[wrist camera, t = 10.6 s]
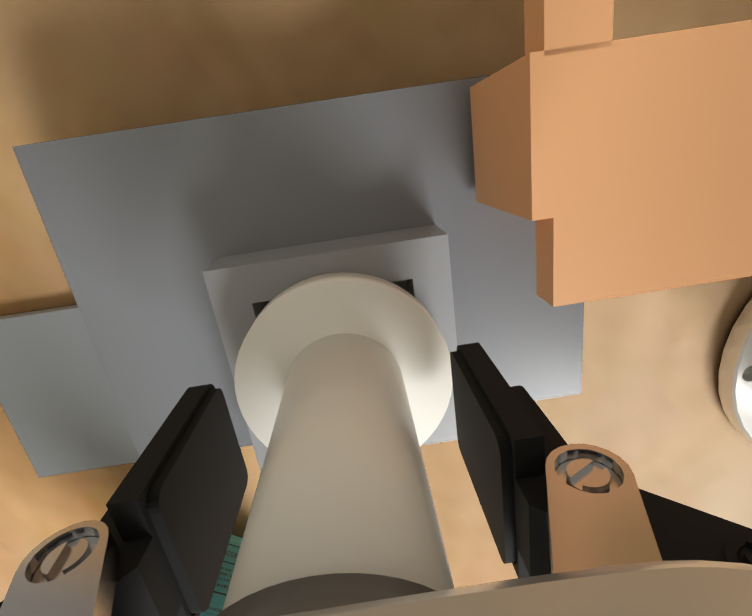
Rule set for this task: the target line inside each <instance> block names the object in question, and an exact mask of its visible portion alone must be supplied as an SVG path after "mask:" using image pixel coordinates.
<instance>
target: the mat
mask: <svg viewBox="0 0 752 616" xmlns="http://www.w3.org/2000/svg"><path fill="white" fill-rule="evenodd" d="M0 404H1V406H2V407H3V409H4V411H5V413H6V415H7V417H8V419H9V421H10V423H11V425H12V427H13V429H14V430H15V432H16V434H17V436H18V438H19V440H20V442H21V444H22V446H23V448H24V450H25V452H26V453H27V455H28V457H29V459H30V461H31V463H32V465H33V467H34V469H35V471H36V473H37V475H38V477H39V478H40V477H46V476H52V475H59V474H65V473H72V472H78V471H84V470H91V469H97V468H103V467H110V466H116V465H122V464H129V463H135V462H136V461H137V460H138V458H139V455H138V452H137V450H136V447H135V445H134V442H133V440H132V438H131V435H130V433H129V430H128V428H127V425H126V423H125V421H124V418H123V416H122V413H121V411H120V408H119V406H118V403H117V401H116V399H115V396H114V394H113V391H112V389H111V386H110V384H109V382H108V379H107V377H106V374H105V372H104V369H103V367H102V364H101V362H100V360H99V357H98V355H97V352H96V350H95V347H94V345H93V342H92V340H91V338H90V335H89V333H88V330H87V328H86V325H85V323H84V321H83V318H82V316H81V313H80V311H79V308H78V306H77V305H70V306H64V307H57V308H51V309H44V310H38V311H31V312H25V313H18V314H12V315H5V316H0Z"/></svg>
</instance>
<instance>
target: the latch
mask: <svg viewBox="0 0 752 616" xmlns="http://www.w3.org/2000/svg"><path fill="white" fill-rule="evenodd" d="M613 17H614V0H524V38H525V56H523V57H521V58H520V59H518V60H516V61H515V62H513V63H511V64H509V65H508V66H506V67H504V68H503V69H501V70H499V71H497V72H496V73H494V74H492V75H490V76H489V77H487V78H485V79H484V80H482V81H480V82H478V83H477V84H475V85H473V86H472V87H470V101H471V118H472V135H473V153H474V170H475V187H476V202H479V203H481V204H484V205H487V206H490V207H493V208H496V209H499V210H502V211H505V212H507V213H510V214H513V215H516V216H519V217H522V218H525V219H528V220H531V221H536V295H538V296H539V297H540V298H542V299H543V300H545V301H546V302H547V303H549V304H550V305H551V306H553V307H556V306H562V305H569V304H575V303H582V302H588V301H595V300H601V299H608V298H614V297H620V296H627V295H633V294H640V293H646V292H653V291H659V290H666V289H672V288H678V287H685V286H691V285H698V284H704V283H711V282H717V281H724V280H730V279H737V278H743V277H749V276H752V20H745V21H738V22H731V23H725V24H718V25H711V26H705V27H698V28H691V29H685V30H678V31H671V32H665V33H658V34H651V35H645V36H638V37H631V38H624V39H618V40H613Z"/></svg>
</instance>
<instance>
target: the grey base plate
mask: <svg viewBox="0 0 752 616" xmlns="http://www.w3.org/2000/svg"><path fill="white" fill-rule="evenodd" d="M489 76H490V75H488V76H481V77H475V78H468V79H461V80H455V81H448V82H441V83H435V84H428V85H421V86H415V87H408V88H401V89H394V90H388V91H381V92H374V93H368V94H361V95H354V96H348V97H341V98H334V99H328V100H321V101H314V102H308V103H301V104H294V105H288V106H281V107H274V108H268V109H261V110H254V111H248V112H241V113H234V114H228V115H221V116H214V117H208V118H201V119H194V120H188V121H181V122H174V123H168V124H161V125H154V126H148V127H141V128H134V129H128V130H121V131H114V132H108V133H101V134H94V135H88V136H81V137H74V138H68V139H61V140H54V141H48V142H41V143H34V144H28V145H21V146H14V147H13V150H14V152H15V155H16V157H17V160H18V162H19V164H20V167H21V169H22V172H23V174H24V177H25V179H26V182H27V184H28V186H29V189H30V191H31V194H32V196H33V199H34V201H35V203H36V206H37V208H38V211H39V213H40V216H41V218H42V221H43V223H44V225H45V228H46V230H47V233H48V235H49V238H50V240H51V243H52V245H53V247H54V250H55V252H56V255H57V257H58V260H59V262H60V264H61V267H62V269H63V272H64V274H65V277H66V279H67V282H68V284H69V286H70V289H71V291H72V294H73V296H74V299H75V301H76V303H77V306H78V308H79V311H80V313H81V316H82V318H83V321H84V323H85V325H86V328H87V330H88V333H89V335H90V338H91V340H92V342H93V345H94V347H95V350H96V352H97V355H98V357H99V360H100V362H101V364H102V367H103V369H104V372H105V374H106V377H107V379H108V382H109V384H110V386H111V389H112V391H113V394H114V396H115V399H116V401H117V403H118V406H119V408H120V411H121V413H122V416H123V418H124V421H125V423H126V425H127V428H128V430H129V433H130V435H131V438H132V440H133V442H134V445H135V447H136V450H137V452H138V455H139V457H140V455H141V454H142V453H143V451H144V450H145V448H146V447H147V445H148V444H149V443H150V441H151V440H152V438H153V437H154V435H155V434H156V433H157V431H158V430H159V428H160V427H161V425H162V424H163V423H164V421H165V420H166V418H167V417H168V415H169V414H170V413H171V411H172V410H173V408H174V407H175V405H176V404H177V403H178V401H179V400H180V398H181V397H182V395H183V394H184V393H185V391H186V390H187V389H188V388H189V387H194V386H200V385H207V384H212V385H214V387H215V388H216V389H217V388H220V389H221V390H222V391H223V394H224V397H225V400H226V404H227V407H228V410H229V413H230V417H231V420H232V423H233V427H234V430H235V433H236V436H237V440H238V443H239V446H240V447H243V446H250V445H253V447H254V450H255V454H256V457H257V461H258V464H259V467H260V471H261V470H262V467H263V463H264V460H265V456H266V452H267V449H268V448H267V447H266V446H265V445H264V444H263V443H262V442H261V441H260V440H259V439H258V438H257V437H256V436H255V434H254V433H253V432H252V430H251V429H250V428H249V426H248V425H247V423H246V421H245V419H244V417H243V416H242V413H241V410H240V408H239V405H238V402H237V397H236V393H235V382H234V376H235V365H236V361H237V357H238V352H239V350H240V348H241V345H242V343H243V340H244V338H245V337H246V335H247V333H248V331H249V330H250V328H251V326H252V325H253V323H254V321H255V320H256V318H257V316H258V315H259V314H260V312H261V311H262V310H263V309H264V307H265V306H266V305H267V304H268V303H269V302H270V301H271V300H272V299H273V298H275V297H276V296H277V295H278V294H280V293H281V292H283V291H284V290H285V289H287V288H288V287H290V286H292V285H294V284H296V283H298V282H300V281H303V280H306V279H308V278H311V277H314V276H319V275H323V274H328V273H339V272H348V273H360V274H366V275H372V276H375V277H378V278H382V279H385V280H387V281H389V282H391V283H393V284H396V285H398V286H399V287H401V288H402V289H404V290H406V291H407V292H409V293H410V294H411V295H412V296H414V297H415V298H416V299H417V300H418V301H419V302H420V303H421V304H422V305H423V306H424V307H425V308H426V309H427V311H428V312H429V313H430V315H431V316H432V318H433V319H434V321H435V323H436V325H437V327H438V328H439V330H440V332H441V334H442V336H443V338H444V340H445V342H446V344H447V347H448V350H449V353H450V352H454V351H457V345H464V344H470V343H476V342H479V343H480V345H481V346H482V347H483V349H484V350H485V352H486V353H487V355H488V356H489V357H490V359H491V360H492V362H493V363H494V364H495V366H496V367H497V369H498V370H499V372H500V373H501V374H502V376H503V377H504V379H505V380H506V381H507V383H508V384H509V386H510V387H512V386H518V385H520V386H523V387H524V388H525V389H526V391H527V392H528V393H529V395H530V396H531V397H532V399H533V400H534V401H536V400H543V399H549V398H555V397H562V396H568V395H575V394H581V384H582V350H583V316H584V302H582V303H575V304H569V305H562V306H556V307H553V306H551V305H550V304H549V303H547V302H546V301H545V300H543V299H542V298H540V297H539V296H538V295H536V221H531V220H528V219H525V218H522V217H519V216H516V215H513V214H510V213H507V212H505V211H502V210H499V209H496V208H493V207H490V206H487V205H484V204H481V203H479V202H476V187H475V170H474V153H473V135H472V118H471V101H470V87H472V86H473V85H475V84H477V83H478V82H480V81H482V80H484V79H485V78H487V77H489ZM452 440H458V438H457V428H456V417H455V406H454V395H453V386H452V393H451V397H450V401H449V405H448V407H447V410H446V412H445V414H444V417H443V418H442V420H441V422H440V423H439V425H438V427H437V428H436V430H435V431H434V432H433V433H432V435H431V436H430V437H429V438H428V439H427V440H426V441H425V442H424V443H423V444H422V445H426V444H433V443H439V442H445V441H452Z"/></svg>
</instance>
